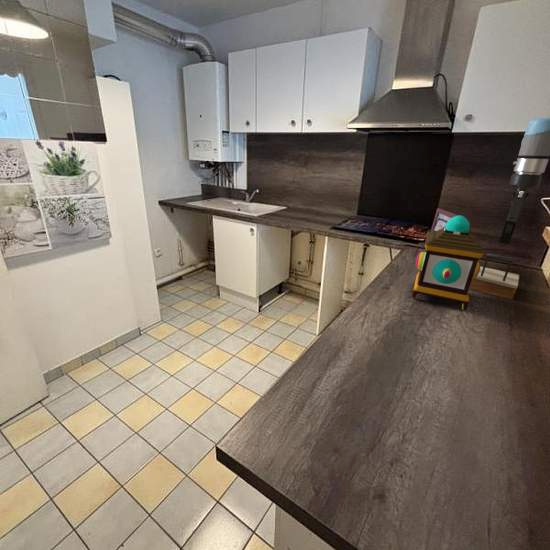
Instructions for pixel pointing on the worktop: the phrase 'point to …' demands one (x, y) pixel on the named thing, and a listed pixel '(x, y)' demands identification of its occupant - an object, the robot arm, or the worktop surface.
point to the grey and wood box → (498, 272)
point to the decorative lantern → (449, 262)
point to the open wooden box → (492, 288)
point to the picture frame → (441, 219)
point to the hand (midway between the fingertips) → (504, 239)
